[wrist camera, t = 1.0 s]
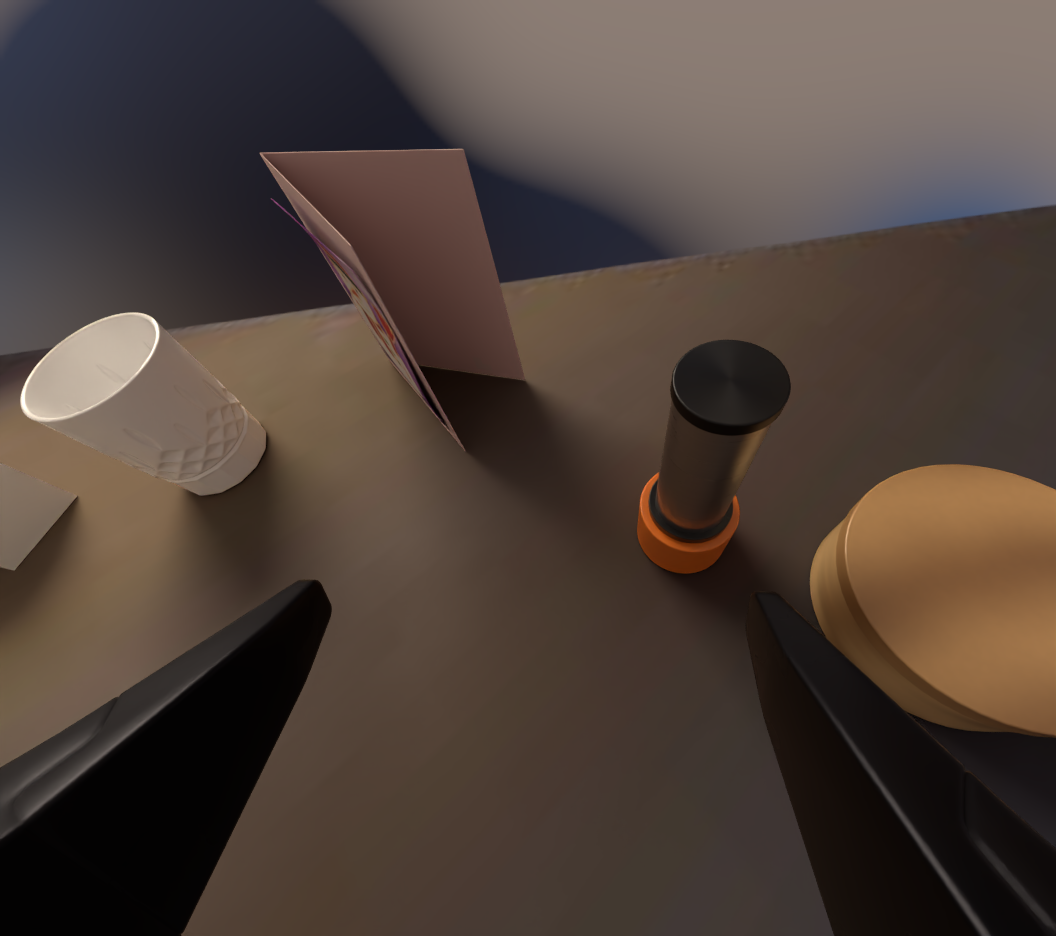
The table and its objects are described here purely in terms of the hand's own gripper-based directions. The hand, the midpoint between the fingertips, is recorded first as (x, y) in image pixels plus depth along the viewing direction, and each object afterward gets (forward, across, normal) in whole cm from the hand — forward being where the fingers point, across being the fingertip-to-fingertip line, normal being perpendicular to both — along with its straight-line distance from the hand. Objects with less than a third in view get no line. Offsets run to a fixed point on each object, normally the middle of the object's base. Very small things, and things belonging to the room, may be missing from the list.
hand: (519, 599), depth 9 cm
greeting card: (+24, +9, +4) cm, 26 cm away
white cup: (+19, +26, +7) cm, 33 cm away
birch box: (+11, -16, +11) cm, 23 cm away
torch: (+14, -6, +9) cm, 18 cm away
